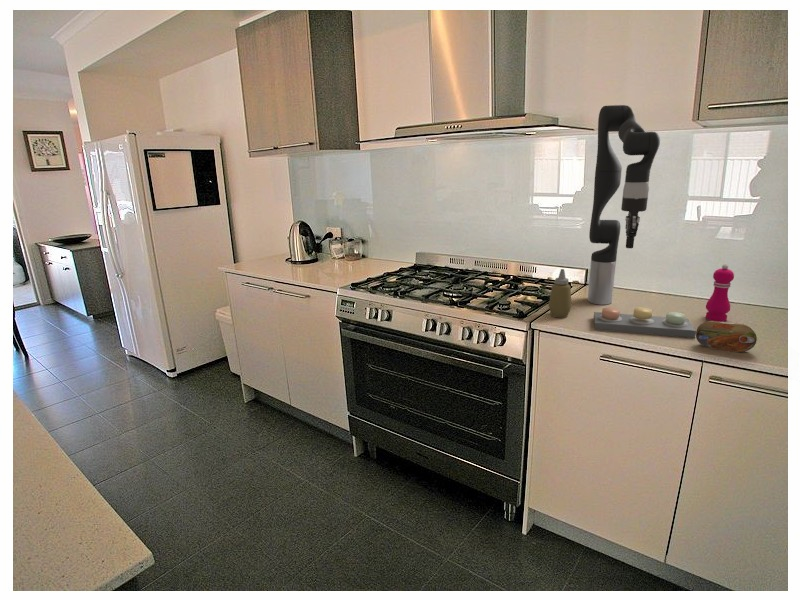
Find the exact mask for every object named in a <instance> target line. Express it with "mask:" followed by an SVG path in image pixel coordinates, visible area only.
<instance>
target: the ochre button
mask: <svg viewBox="0 0 800 600" xmlns="http://www.w3.org/2000/svg"><path fill="white" fill-rule="evenodd" d="M632 315H633V316H634V317H635V318H638V319H651V318H652V316H653V310H652V309H651V308H648V307H640V306H639V307H634V308H633V313H632Z"/></svg>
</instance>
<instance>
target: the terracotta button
mask: <svg viewBox="0 0 800 600" xmlns="http://www.w3.org/2000/svg"><path fill="white" fill-rule="evenodd" d="M601 312H602V317H603V318H606V319H618V318H619V314H621V313H620V312H621V311H620V309H618V308H614V307H604V308H602V309H601Z"/></svg>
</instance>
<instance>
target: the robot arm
mask: <svg viewBox="0 0 800 600" xmlns="http://www.w3.org/2000/svg"><path fill="white" fill-rule="evenodd" d="M610 132H612V133H614V132H616V133H618V137H619V140H620V141H621V142H622V151H623V153H624V154H625V155H627V156H643V157H642V159H641V160H639V161H637V162H632V163H630V164H628V165H627V166H626V169H625V177H624V178H625V180H624V186H623V190H622V197H621V198H622V199H621V206H620V207H621V211H623V212H628V214H627V215H625V226H624V227H625V228H624V229H625V236H626V240H625V248H626V249H634V244H635V238H636V236H637V233H638V230H639V225H640V224H639V223H640V221H641V217H640V216H639V212H645V211H646V210H647V208H648V200H649V193H650V192H649V191H650V190H649V189H650V186H649V183H650V176H651V175H650V174H651V169H652V166H653V162H654V159H655V158H656V155H657V153H658V150H659V147H660V145H661V137H660V135H659V133H658V132H656V131H646V130H645V129H644V128H643V126H642V125H640V123H638V122H637V118H636V115H635V113H634V110H633V109H632V107H630V106H629V105H625V104H623V105H622V104H615V105H603V106H602V107H601V109H600V110H599V113H598V121H597V151H596V163H595V171H594V184H593V185H594V187H593V190H594V191H593V203H592V211H591V218H590V225H589V233H588V234H589V237H588V238H589V241H590V243H592V244H606V245H607V244H608V245H607V246H606V247H604V248H602V249H599V250H597V251H594V252H592V253H591V255H590V256H591V257H590V268H589V281H588V290H587V302H588V303H591V304H595V305H610V304H612V303H613V296H614V295H613V292H614V285H615V277H616V276H615V275H616V274H615V273H616V266H617V265H616V264H617V258H618V257H617V255H618V246H619V242H620V241H619V240H620V236H621V222H620V221H619V220H618V219H617V220H616V219H600V218H601V215H602V213H603V210H604V209H605V207H606V206H607V204H608V203H609V201H610V200H611V199H612V197H613V196H615V194H616V192H618V190H619V188H620V186H621V179H622V169H623V168H622V167H623V166H622V164H621V162H620V160H619V158H618V156H617V154H616V153H615V151H614V150H613V147H612V145H611V143H610V142H611V141H610V136H609V135H610V134H609V133H610Z"/></svg>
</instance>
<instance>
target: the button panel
mask: <svg viewBox="0 0 800 600" xmlns="http://www.w3.org/2000/svg"><path fill="white" fill-rule="evenodd" d="M593 325H594V330H596V331H597V330H598V331H606V332H607V331H609V332H620V333H630V334H631V333H632V334H642V335H643V334H645V335H654V336H656V335H657V336H667V337H679V338H689V339H690V338H691V339H695V338H696V331H697V329H695V327H694V326H693V324H692V323H691V321H690V320H689V318H685V323H684V324H672V323H668V322H666V316H655V315H652V318H651V319H638V318H635V317H634V316H633V314H627V313H620V314H619V318H618V319H606V318H603V317H602V311H601V312H599V311H593Z"/></svg>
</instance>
